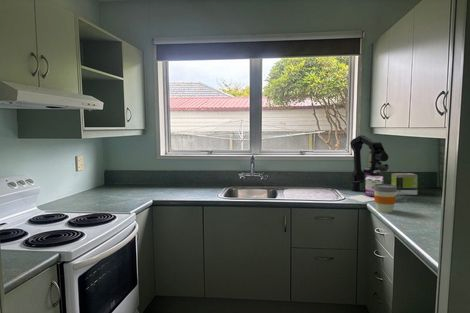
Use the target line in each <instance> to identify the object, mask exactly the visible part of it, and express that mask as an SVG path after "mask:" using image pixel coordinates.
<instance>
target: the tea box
mask: <svg viewBox="0 0 470 313" xmlns="http://www.w3.org/2000/svg"><path fill="white" fill-rule="evenodd" d="M390 177H391V178H390V179H391V182H390V183H391V184H390V185H395V186H397V192H396V196H397V195H400V196H401V195H403V196H406V195H408V196H409V195H413V196H414V195H415V196H416V195H418V187H419V186H418V184H419V183H418V179H419V178H418V177H419V176H418V174H415V173H411V172H410V173H409V172H405V173H404V172H402V173H400V172H399V173H397V172H396V173H395V172H394V173H391V176H390Z"/></svg>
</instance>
